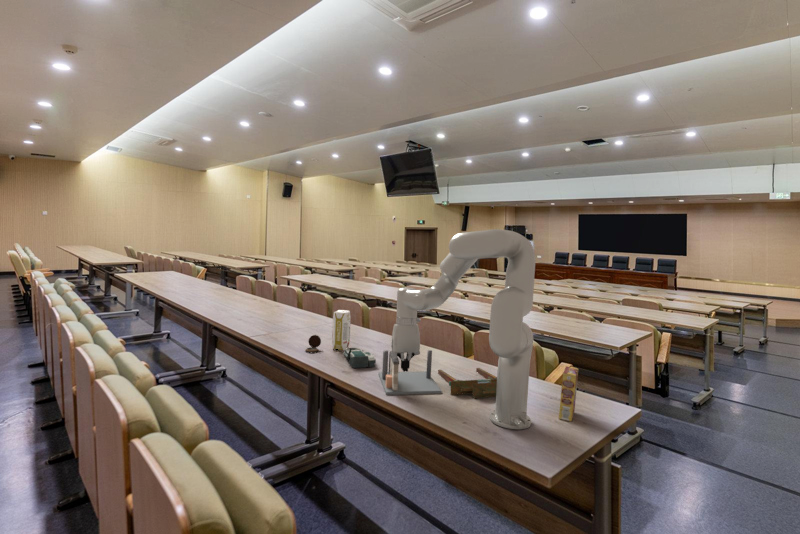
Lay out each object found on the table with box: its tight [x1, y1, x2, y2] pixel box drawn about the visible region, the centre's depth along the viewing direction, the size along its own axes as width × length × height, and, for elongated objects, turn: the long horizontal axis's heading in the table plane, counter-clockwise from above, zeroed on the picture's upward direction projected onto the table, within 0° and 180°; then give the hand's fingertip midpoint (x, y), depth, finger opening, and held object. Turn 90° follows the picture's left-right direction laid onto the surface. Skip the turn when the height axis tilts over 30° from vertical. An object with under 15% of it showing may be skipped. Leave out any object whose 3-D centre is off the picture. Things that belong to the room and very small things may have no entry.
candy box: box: [558, 366, 579, 422], centre depth 132 cm, size 9×4×15 cm, turn 151°
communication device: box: [342, 347, 377, 369], centre depth 184 cm, size 12×24×9 cm, turn 18°
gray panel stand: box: [378, 349, 443, 396], centre depth 156 cm, size 22×20×12 cm
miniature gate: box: [437, 367, 497, 399], centre depth 158 cm, size 27×6×30 cm
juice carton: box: [331, 309, 352, 351], centre depth 202 cm, size 8×9×19 cm
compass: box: [304, 334, 322, 353], centre depth 196 cm, size 8×8×7 cm
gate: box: [388, 350, 400, 390], centre depth 152 cm, size 15×2×11 cm, turn 7°
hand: (405, 370), depth 149 cm, fingers closed
